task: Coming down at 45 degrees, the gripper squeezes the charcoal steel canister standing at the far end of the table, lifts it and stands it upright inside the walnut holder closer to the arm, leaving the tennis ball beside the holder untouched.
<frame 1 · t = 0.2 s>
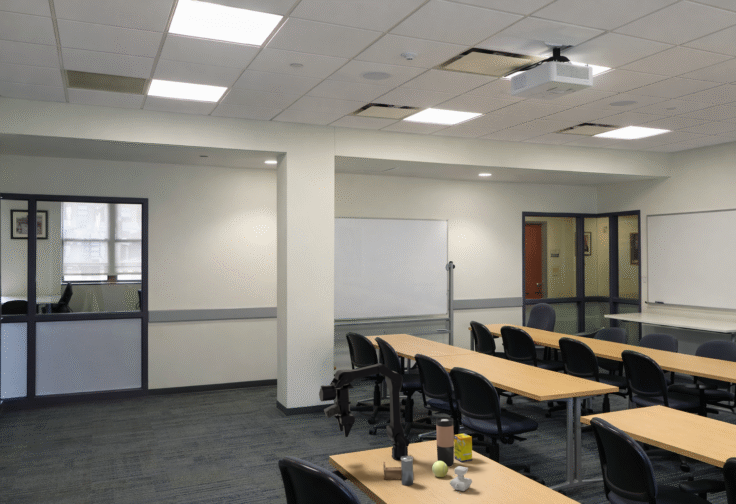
hand: (343, 434, 264), 14 cm above the table, tool pointing down, fingers open, 9 cm apart
supplement box: (463, 460, 269), on the table
travel mug: (445, 464, 264), on the table
holder: (396, 474, 253), on the table
stamp: (461, 489, 235), on the table
tennis ball: (440, 476, 250), on the table
canister: (407, 483, 242), on the table
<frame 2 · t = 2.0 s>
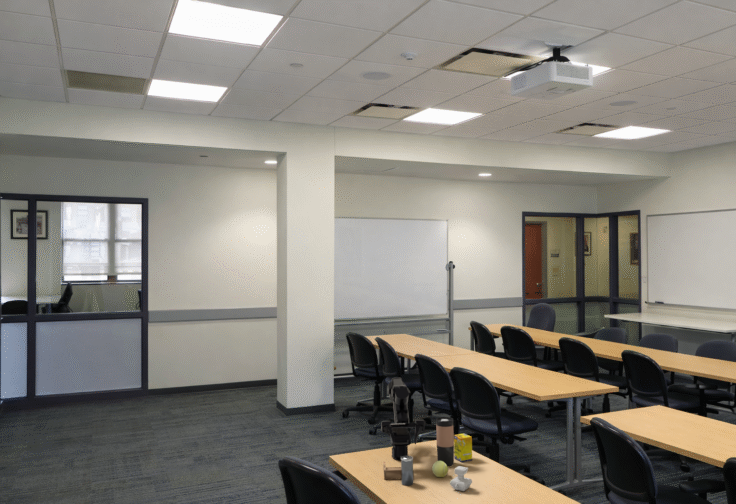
hand: (404, 444, 250), 13 cm above the table, tool tilted 45°, fingers open, 9 cm apart
nothing on the table moved.
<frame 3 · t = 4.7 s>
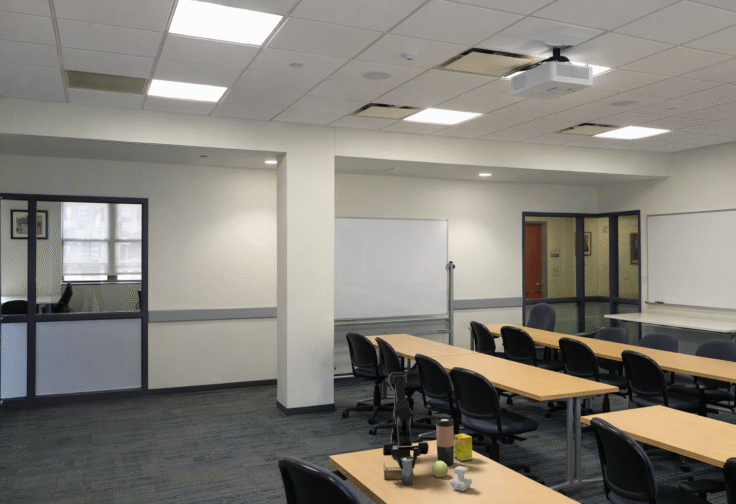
hand: (407, 468, 241), 7 cm above the table, tool tilted 45°, fingers closed on canister, 5 cm apart
canister: (407, 483, 242), on the table, touching gripper
everything else where it was.
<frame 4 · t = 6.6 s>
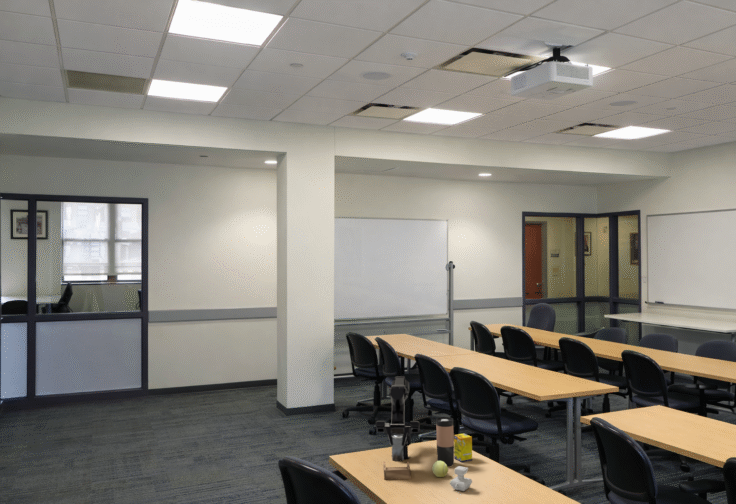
hand: (397, 445, 250), 13 cm above the table, tool tilted 45°, fingers closed on canister, 5 cm apart
canister: (397, 459, 251), point 7 cm above the table, touching gripper
everything else where it was.
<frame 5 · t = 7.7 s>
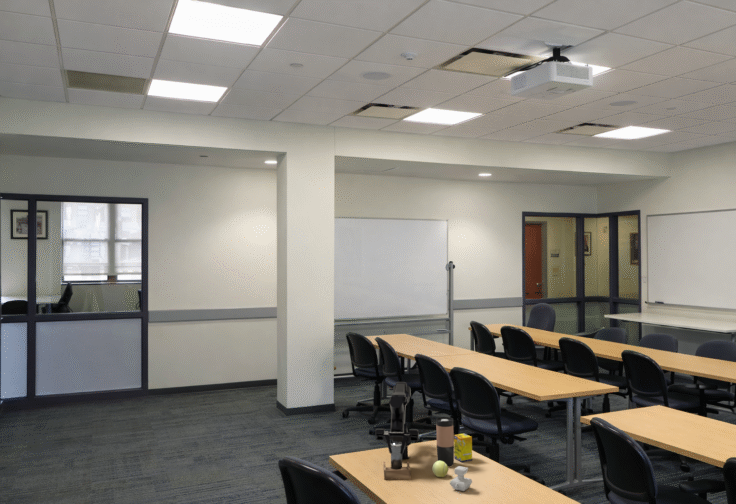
hand: (396, 453, 251), 9 cm above the table, tool tilted 45°, fingers closed on canister, 5 cm apart
canister: (396, 467, 253), point 3 cm above the table, touching gripper
everything else where it was.
when the fingers open (9 cm above the table, at t = 8.2 s): canister drops 1 cm, resting on holder.
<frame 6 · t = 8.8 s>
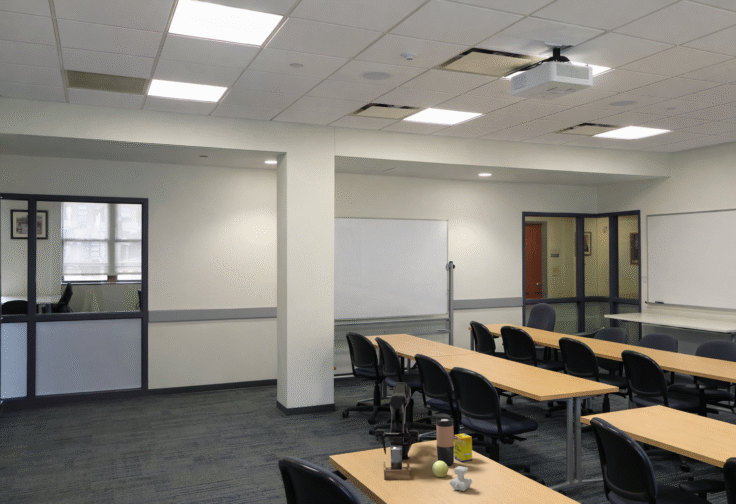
hand: (396, 454, 251), 9 cm above the table, tool tilted 45°, fingers open, 9 cm apart
canister: (396, 471, 253), point 1 cm above the table, touching holder
everything else where it was.
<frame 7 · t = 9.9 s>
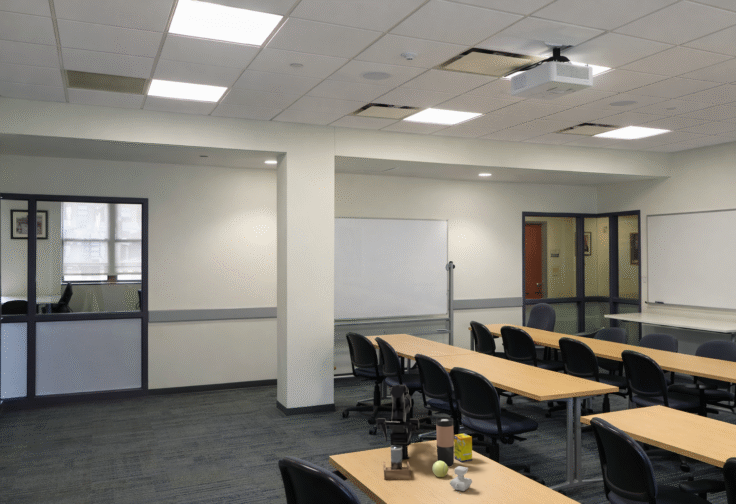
hand: (397, 441, 257), 13 cm above the table, tool tilted 45°, fingers open, 9 cm apart
nothing on the table moved.
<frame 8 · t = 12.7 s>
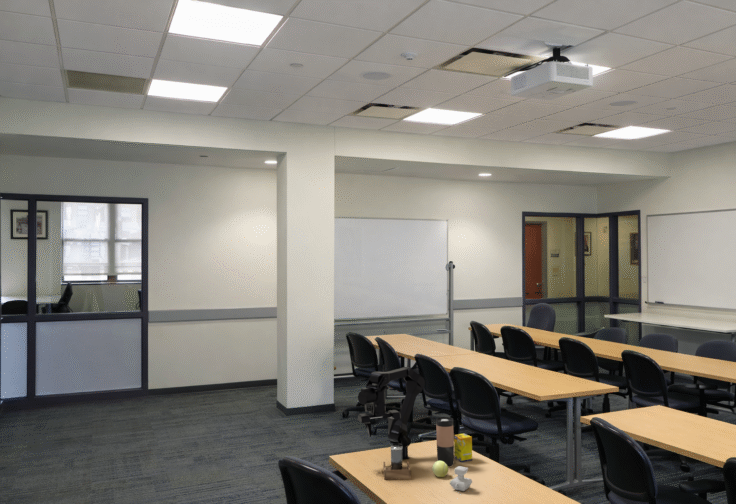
hand: (379, 435, 265), 13 cm above the table, tool pointing down, fingers open, 9 cm apart
nothing on the table moved.
at the end: canister 0.1 cm from the holder (horizontally); canister tilted 1°; tennis ball moved 0.3 cm from its start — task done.
